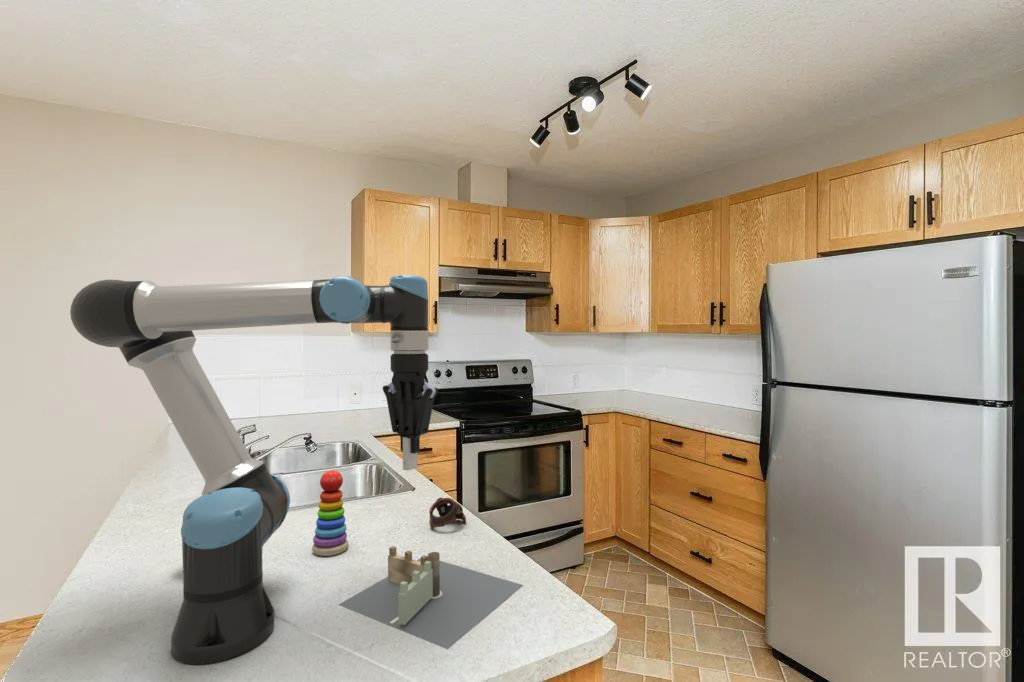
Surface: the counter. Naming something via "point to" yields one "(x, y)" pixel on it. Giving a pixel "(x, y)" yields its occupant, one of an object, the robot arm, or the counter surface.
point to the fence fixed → (412, 568)
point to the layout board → (438, 604)
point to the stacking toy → (330, 517)
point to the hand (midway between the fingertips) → (410, 468)
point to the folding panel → (415, 593)
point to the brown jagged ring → (446, 512)
